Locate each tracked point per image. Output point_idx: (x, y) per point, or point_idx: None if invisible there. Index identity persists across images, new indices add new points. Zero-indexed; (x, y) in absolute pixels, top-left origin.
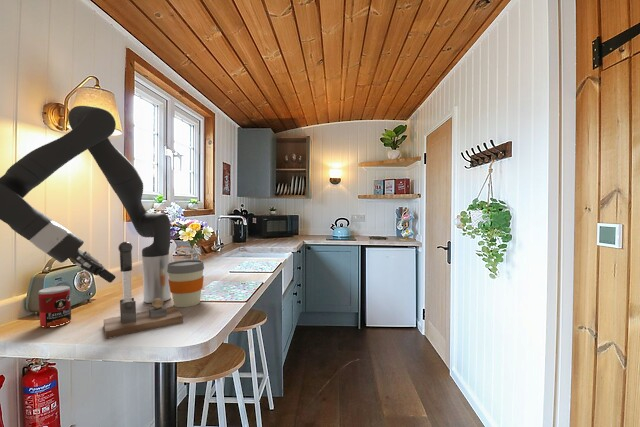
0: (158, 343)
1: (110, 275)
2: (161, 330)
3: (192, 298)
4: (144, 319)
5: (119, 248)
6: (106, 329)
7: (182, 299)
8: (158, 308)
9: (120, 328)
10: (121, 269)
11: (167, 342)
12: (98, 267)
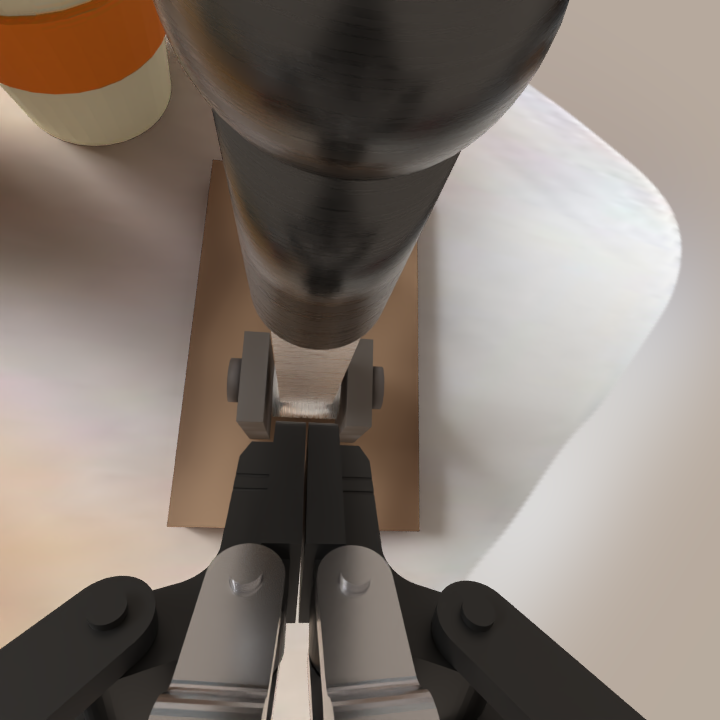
0: (604, 345)
1: (370, 478)
2: (457, 299)
3: (165, 48)
4: None
5: (460, 119)
6: (387, 524)
7: (146, 90)
8: None
9: (418, 458)
10: (357, 333)
11: (612, 315)
12: (573, 677)
